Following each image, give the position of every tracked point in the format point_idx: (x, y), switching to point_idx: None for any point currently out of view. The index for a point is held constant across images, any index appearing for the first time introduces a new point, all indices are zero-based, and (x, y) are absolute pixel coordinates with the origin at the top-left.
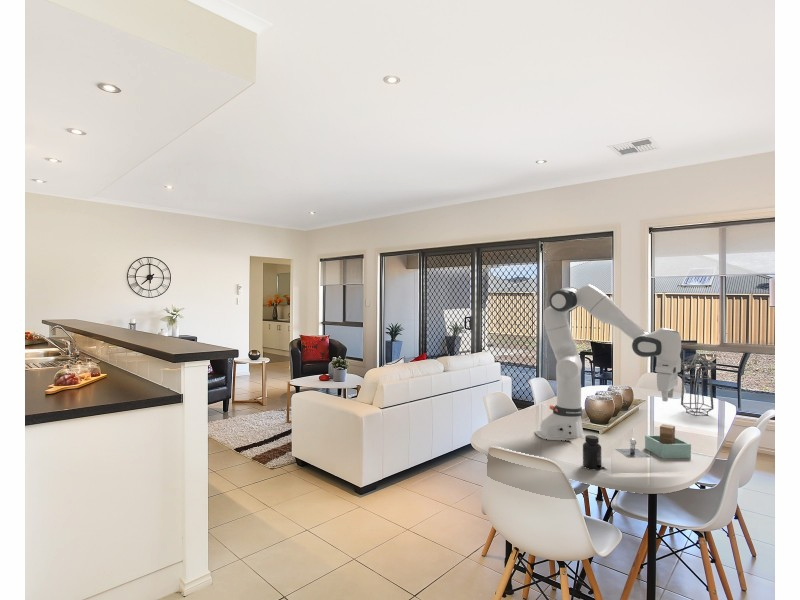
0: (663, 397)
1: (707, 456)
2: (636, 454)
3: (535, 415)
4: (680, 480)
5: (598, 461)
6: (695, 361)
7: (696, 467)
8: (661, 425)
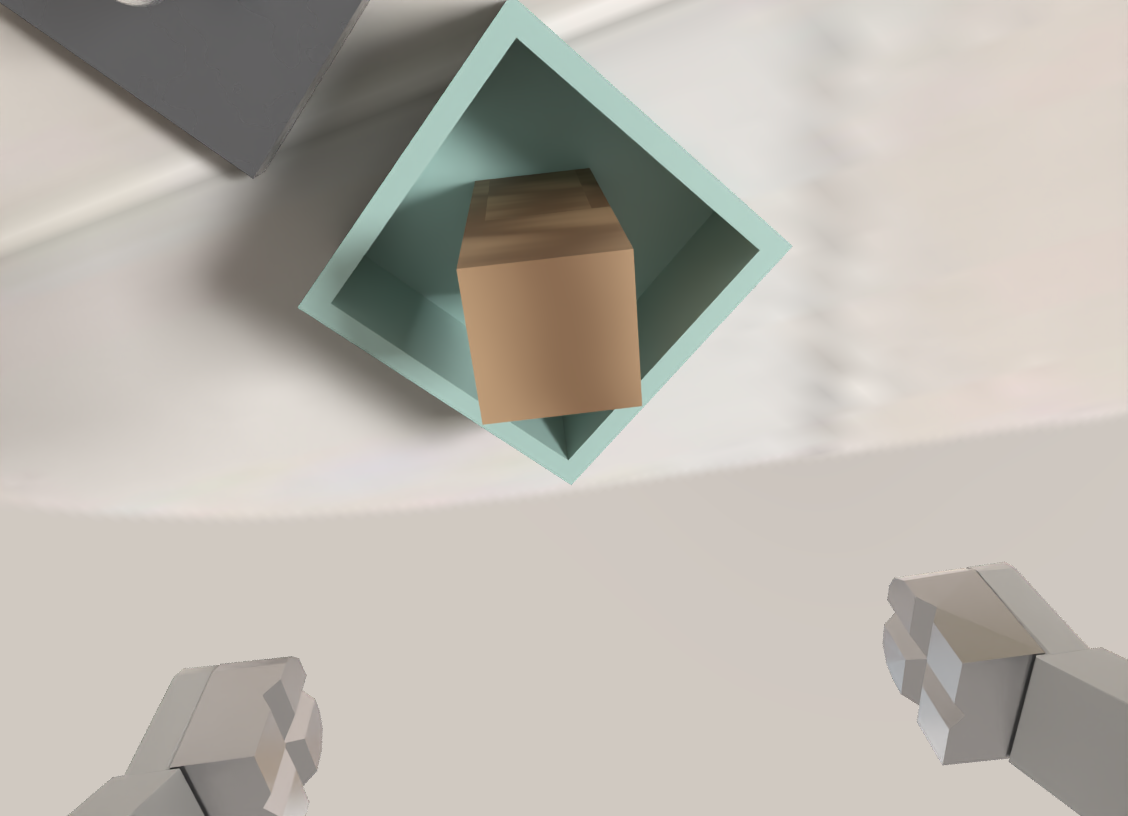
0: (149, 776)
1: (803, 447)
2: (185, 22)
3: None
4: (36, 484)
5: None
6: None
7: (443, 471)
8: (518, 270)
